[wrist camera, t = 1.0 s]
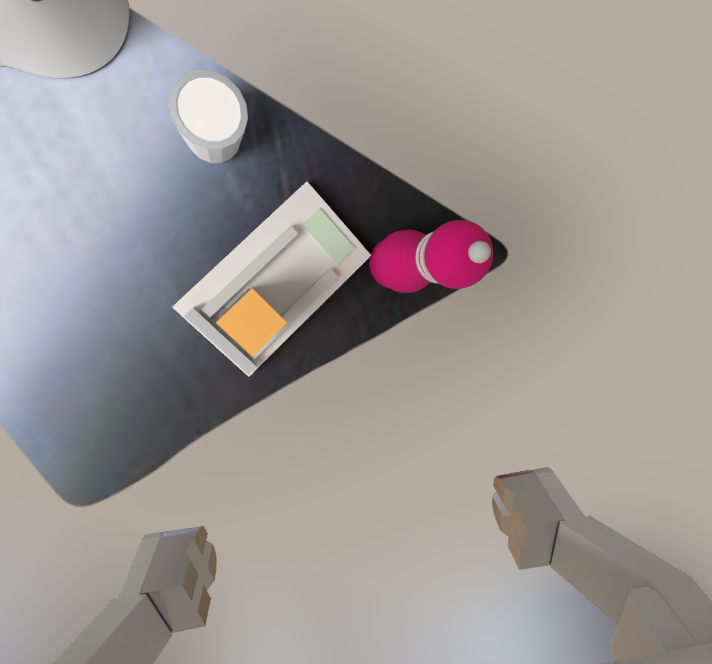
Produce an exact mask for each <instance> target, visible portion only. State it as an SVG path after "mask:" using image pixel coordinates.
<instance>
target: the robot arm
mask: <svg viewBox="0 0 712 664" xmlns="http://www.w3.org/2000/svg"><path fill="white" fill-rule="evenodd" d="M128 25H129V3H128V0H0V66H8V67H13V68H17V69H20V70H23V71H26V72H29V73H32V74H36V75H40V76H45V77H52V78H70V77H77V76H82V75H85V74H88V73H91V72H93V71H95V70H97V69H99V68H101V67H102V66H104V65H105V64H107V63H108V62H109V61H110V60H111V59H112V58H113V57H114V56H115V55H116V53H117V52H118V51H119V49H120V48H121V46H122V44H123V42H124V40H125V37H126V34H127V30H128ZM494 487H495V489H496V491H497V492H496V493H495V494H494V495H493V498H492V506H493V511H494V515H495V518H496V521H497V524H498V526H499V528H500V530H501V531H502V532H503V533H505V534H506V535H507V536H509V540H508V547H509V549H510V552H511V554H512V556H513V558H514V560H515V562H516V564H517V566H518V568H519V570H520V569H527V568H534V567H541V566H547V565H551V568H552V569H554V570H555V571H556V572H557V573H558V574H559V575H561V576H562V577H563V578H564V579H565V580H566V581H567V582H569V583H570V584H571V585H572V586H573V587H574V588H575V589H577V590H578V591H579V592H580V593H581V594H582V595H584V596H585V597H586V598H587V599H588V600H589V601H591V602H592V603H593V604H594V605H595V606H596V607H597V608H599V609H600V610H601V611H602V612H603V613H604V614H606V615H607V616H608V617H609V618H610V619H611V620H612V621H614V622H615V623H616V624H617V627H616V630H615V633H614V635H613V638H612V640H611V643H610V646H609V649H610V651H611V653H612V655H613V656H614V658H615V660H616V661H613V662H608V663H602V664H712V601H711V600H710V599H709V598H708V597H707V595H706V594H705V593H704V592H703V591H702V589H701V588H700V587H699V586H698V585H697V583H696V582H695V581H694V580H693V579H692V578H691V577H690V576H688V575H687V574H685V573H684V572H682V571H680V570H679V569H677V568H675V567H673V566H672V565H670V564H669V563H667V562H665V561H664V560H662V559H660V558H659V557H657V556H655V555H654V554H652V553H651V552H649V551H647V550H645V549H644V548H642V547H641V546H639V545H637V544H636V543H634V542H632V541H631V540H629V539H627V538H626V537H624V536H623V535H621V534H619V533H618V532H616V531H614V530H613V529H611V528H609V527H608V526H606V525H604V524H603V523H601V522H599V521H598V520H596V519H594V518H593V517H591V516H589V517H585V516H584V515H583V513H582V512H581V510H580V509H579V508H578V506H577V505H576V503H575V502H574V500H573V499H572V497H571V496H570V495H569V493H568V492H567V490H566V489H565V488H564V486H563V485H562V483H561V482H560V481H559V479H558V478H557V476H556V475H555V473H554V472H553V471H552V469H550V468H549V467H545V468H540V469H534V470H526V471H520V472H515V473H510V474H504V475H499V476H496V477H495V478H494ZM206 539H207V531H206V530H205V528H204V526H202V527H195V528H188V529H181V530H173V531H166V532H160V533H154V534H148V535H145V536H144V538H143V539H142V540H141V542H140V544H139V546H138V549H137V551H136V554H135V556H134V559H133V562H132V564H131V567H130V569H129V572H128V574H127V577H126V579H125V582H124V584H123V587H122V590H121V592H120V595H119V597H118V599H114V600H111V602H110V603H109V604H108V605H107V606H106V607H105V608H104V609H103V610H102V611H101V612H100V613H99V614H98V616H96V617H95V618H94V620H93V621H92V622H91V623H90V624H89V625H88V626H87V627H86V628H85V629H84V630H83V631H82V632H81V633H80V634H79V636H78V637H77V638H76V639H75V640H74V641H73V642H72V643H71V644H70V645H69V646H68V647H67V648H66V649H65V650H64V651H63V652H62V654H61V655H60V656H59V657H58V658H57V659H56V660H55V661H54V662H53V663H52V664H153V663H154V662H155V661H156V659H157V658H158V656H159V654H160V653H161V651H162V650H163V648H164V647H165V645H166V644H167V642H168V641H169V639H170V638H171V636H172V633H174V632H179V631H184V630H188V629H193V628H198V627H202V626H205V625H206V620H207V615H208V610H209V605H210V600H211V598H210V596H209V594H208V592H207V590H208V588H209V587H210V586H211V584H212V583H213V582H214V580H215V574H216V559H217V558H216V552H215V549H214V546H213V544H212V543H210V542H208V541H206Z"/></svg>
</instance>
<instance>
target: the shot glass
mask: <svg viewBox="0 0 712 664" xmlns="http://www.w3.org/2000/svg"><path fill="white" fill-rule="evenodd" d="M169 108H170V115H171V118H172V120H173V122H174V124H175V125H176V127H177V129H178V131H179V132H180V134H181V135H182V137H183V138H184V140H185V141H186V143H187V144H188V146H189V147H190V149H191V150H192V152H194V153H195V154H196V155H197V156H198V157H199V158H200V159H202V160H205V161H208V162H210V163H223V162H225V161H227V160H230V159H231V158H232V157H233V156H234V155H235V154H236V153H237V152H238V149H239V146H240V143H241V140H242V137H243V134H244V131H245V127H246V124H247V120H248V115H247V106H246V102H245V100H244V98H243V96H242V94H241V92H240V90H239V89H238V88H237V87H236V86H235V85H234V84H233V83H232V82H231V81H230V80H229V79H228V78H227V77H224V76H222V75H220V74H218V73H216V72H213V71H205V70H195V71H193V72H190V73H188V74H185V75H182V77H181V78H180V79H179V80H178V81H177V82H176V83H175V84H174V85H173V87H172V90H171V94H170V98H169Z"/></svg>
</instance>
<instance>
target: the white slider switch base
mask: <svg viewBox="0 0 712 664" xmlns="http://www.w3.org/2000/svg"><path fill="white" fill-rule="evenodd" d="M370 256H371V255H370V254H369V252H368V251H367V250H366V249H365V248H364V247H363V245H362V244H361V243H360V242H359V241H358V240H357V238H356V237H355V236H354V235H353V234H352V233H351V232H350V230H349V229H348V228H347V227H346V226H345V225H344V223H343V222H342V221H341V220H340V219H339V218H338V217H337V215H336V214H335V213H334V212H333V211H332V210H331V208H330V207H329V206H328V205H327V204H326V203H325V202H324V200H323V199H322V198H321V197H320V196H319V195H318V193H317V192H316V191H315V190H314V189H313V188H312V186H311V185H310V184H309V183H308V182H306V183H305V184H304V185H303V186H302V187H300V188H299V189H298V190H297V191H296V192H295V193H294V194H293V195H292V196H291V197H290V198H289V199H288V200H287V201H285V202H284V203H283V204H282V205H281V206H280V207H279V208H278V209H277V210H276V211H275V212H274V213H273V214H272V215H270V216H269V217H268V218H267V219H266V220H265V221H264V222H263V223H262V224H261V225H260V226H259V227H258V228H256V229H255V230H254V231H253V232H252V233H251V234H250V235H249V236H248V237H247V238H246V239H245V240H244V241H243V242H241V243H240V244H239V245H238V246H237V247H236V248H235V249H234V250H233V251H232V252H231V253H230V254H229V255H228V256H226V257H225V258H224V259H223V260H222V261H221V262H220V263H219V264H218V265H217V266H216V267H215V268H214V269H213V270H211V271H210V272H209V273H208V274H207V275H206V276H205V277H204V278H203V279H202V280H201V281H200V282H199V283H197V284H196V285H195V286H194V287H193V288H192V289H191V290H190V291H189V292H188V293H187V294H186V295H185V296H184V297H182V298H181V299H180V300H179V301H178V302H177V303H176V304H175V305H174V306H173V308H174V309H175V310H176V311H177V312H178V313H179V314H180V315H181V316H182V317H184V318H185V319H186V320H187V321H188V322H189V323H190V324H191V325H192V326H194V327H195V328H196V329H197V330H198V331H199V332H200V333H201V334H202V335H203V336H205V337H206V338H207V339H208V340H209V341H210V342H211V343H212V344H213V345H215V346H216V347H217V348H218V349H219V350H220V351H221V352H222V353H223V354H224V355H226V356H227V357H228V358H229V359H230V360H231V361H232V362H233V363H234V364H235V365H237V366H238V367H239V368H240V369H241V370H242V371H243V372H244V373H245V374H247V375H248V376H250V375H251V374H252V373H253V372H254V371H255V370H256V369H257V368H258V367H259V366H260V365H261V364H262V363H263V362H264V361H265V360H266V359H267V358H268V357H269V356H270V355H271V354H272V353H273V352H274V351H275V350H276V349H277V348H278V347H279V346H280V345H281V344H282V343H283V342H284V341H285V340H286V339H287V338H288V337H289V336H290V335H291V334H292V333H293V332H294V331H295V330H296V329H297V328H299V327H300V326H301V325H302V324H303V323H304V322H305V321H306V320H307V319H308V318H309V317H310V316H311V315H312V314H313V313H314V312H315V311H316V310H317V309H318V308H319V307H320V306H321V305H322V304H323V303H324V302H325V301H326V300H327V299H328V298H329V297H330V296H331V295H332V294H333V293H334V292H335V291H336V290H337V289H338V288H339V287H340V286H341V285H342V284H343V283H344V282H345V281H346V280H347V279H348V278H349V277H350V276H351V275H352V274H353V273H354V272H355V271H356V270H357V269H358V268H359V267H360V266H361V265H362V264H363V263H364V262H365V261H366V260H367V259H368V258H369V257H370ZM251 288H253V289H254V290H255V291H256V292H257V293H258V294H259V295H260V296H261V297H262V298H263V299H264V300H265V301H266V302H267V303H268V304H269V305H270V306H271V307H272V308H273V309H274V310H275V311H276V312H277V313H278V314H279V315H280V316H281V317H282V318H283V319H284V320H285V321H286V322H287V323H286V324H285V325H284V326H283V327H282V328H281V329H280V330H279V331H278V332H277V333H276V334H275V335H274V336H273V337H272V338H271V339H270V340H269V341H268V342H267V343H266V344H265V345H264V346H263V347H262V348H261V349H260V350H259V351H258V352H257V353H256V354H255V355H254V356H253V357H252V356H251V355H250V354H249V353H248V352H247V351H246V350H245V349H243V348H242V347H241V346H240V345H239V344H238V343H237V342H236V341H235V340H234V339H233V338H232V337H231V336H229V335H228V334H227V333H226V332H225V331H224V330H223V329H222V328H221V327H220V326H219V325H218V324H217V323H216V322H217V321H218V320H219V319H220V317H221V315H222V313H224V312H225V311H226V310H227V309H228V308H229V307H230V306H231V305H232V304H233V303H234V302H235V301H236V300H237V299H238V298H239V297H240V296H241V295H242V294H243V293H244V292H246V291H247V290H248V289H251Z"/></svg>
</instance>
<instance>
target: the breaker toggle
mask: <svg viewBox="0 0 712 664" xmlns="http://www.w3.org/2000/svg"><path fill="white" fill-rule="evenodd" d="M216 323H217V324H218V325H219V326H220V327H221V328H222V329H223V330H224V331H225V332H226V333H227V334H228V335H229V336H231V337H232V338H233V339H234V340H235V341H236V342H237V343H238V344H239V345H240V346H241V347H242V348H243V349H245V350H246V351H247V352H248V353H249V354H250V355H251V356H252V357H253V356H254V355H255V354H256V353H257V352H258V351H259V350H260V349H261V348H262V347H263V346H264V345H265V344H266V343H267V342H268V341H269V340H270V339H271V338H272V337H273V336H274V335H275V334H276V333H277V332H278V331H279V330H280V329H281V328H282V327H283V326H284V325H285V324H286V323H287V322H286V321H285V320H284V319H283V318H282V317H281V316H280V315H279V314H278V313H277V312H276V311H275V310H274V309H273V308H272V307H271V306H270V305H269V304H268V303H267V302H266V301H265V300H264V299H263V298H262V297H261V296H260V295H259V294H258V293H257V292H256V291H255V290H254V289H253V288H251V289H248V290H247V291H246V292H244V293H243V294H242V295H241V296H240V297H239V298H238V299H237V300H236V301H235V302H234V303H233V304H232V305H231V306H230V307H229V308H228V309H227V310H226V311H225V312H224V313H222V315H221V317H220V319H219V320H218V321H217V322H216Z"/></svg>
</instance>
